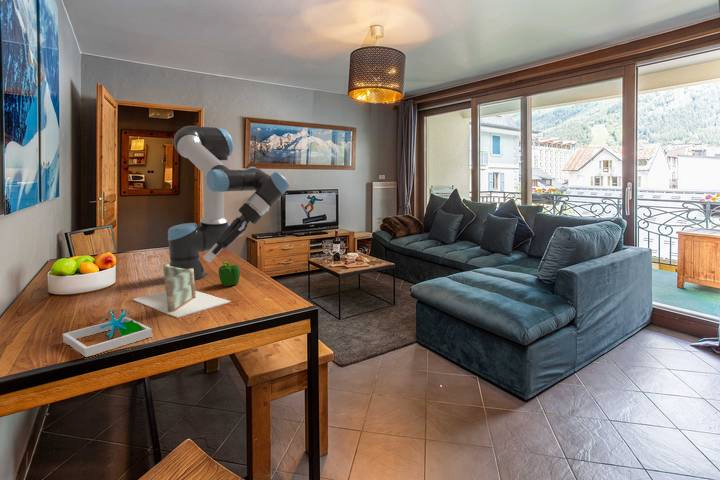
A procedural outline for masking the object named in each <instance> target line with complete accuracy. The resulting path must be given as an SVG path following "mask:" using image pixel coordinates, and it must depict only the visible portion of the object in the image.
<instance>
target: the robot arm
mask: <svg viewBox="0 0 720 480" xmlns="http://www.w3.org/2000/svg"><path fill="white" fill-rule="evenodd" d="M173 146H174V149H175V150H176V152H177V153H178V154H179V155H180V156H181V157H183V158H185V159H188V160H189V161H190V162H191V163H192V164H193V165H194V166H195V167H196V168H197V169H198V170H199V172H201V173H202V177H203V178H202V181H203V182H202V183H203V185H202V186H203V193H202V194H203V218H201V219H200V220H199V221H200V222H199V224H200V225H197V223H196V222H188V223H187V222H186V223H181V224H177V225H173V226H171V227H170V228H168V230H167V241H168V242H167V243H168V252H169V266H172V267H178V268H183V269H190V268H193V269H194V281H196V280H199V279H202V278H205V277H206V272H205V271H206V270H205V269H204V266H203V263H202V262H201V259H200V253H201V252H206V253H205V254H204V255H203V257H202V258H203V260H205V261H207V262H208V263H209V264H210V263H211V262H212V261H213V260H214V259H215V258H216V257H217V256H218V254H220V252H222V251H223V249H227V248H229V246H230V245H231V244H232V243H233V242H234V241H235V240H236V239H237V238H238V237H239V236H240V235H241V234H242V233H244V231H246V230H247V228H248V224H249V223H251V224H254V225H256V224H257V223H258V222H259V220H260V219H261V218H262V216H264V215H265V214H266V213H269V212H270V209H271V208H272V206H273V205H275V203H276V202H277V201H278V200H279V199H280V198H281V197H282V196H283V195H284V194H285V193H286V191H287V190H288V189H289V187H290V183H289V181H288V180H287V179H286V177H285V176H283V175H282V174H281V173H280V172H277V171H274V172H273V173H271V174H268V173H266V172H265V171H263V170H262V169H259V168H257V167H255V166H250V167H249V166H248V168H245V169H230V168H229V167H227V165H225V164H226V163H227V162H228V157H230V156H231V155H232V154H233V152H234V142H233V138H232V136H231V134H230V132H229V131H228V130H226V129H225V128H221V127H210V126H199V125H198V126H197V125H186V126H183V127H181V128H180V129H179V130H177V131H176V133H175V134H174V138H173ZM250 191H251V192H252V191H253V193H252V194H251V195H250V197H249V198H248V199H247V200H246V202H245V203H243V204H242V205H241V206H240V207H239V209H238V213H240V214H241V215H240V216H239V217H236V218H235V219H233V220H232V222H231V223H228V222H229V221H228V220H227V219H226V217H225V192H250Z"/></svg>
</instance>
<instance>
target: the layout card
mask: <svg viewBox="0 0 720 480" xmlns="http://www.w3.org/2000/svg"><path fill="white" fill-rule="evenodd" d="M195 294H196V298H191V299H189V300H188V301H186V302H185V303H183V304H182V305H180V306H179V307H177V308H176V309H175V310H173V311H168V306H167V294H166V290H164V291H161V292H157V293H152V294H148V295H144V296H140V297H135V298H132V301H134V302H137V303H139V304H142V305H144V306H146V307H149V308H151V309H155V310H157V311H158V312H160V313H161V312H162V313H164V314H167V315H169V316H172V317H174V318H176V319H180V318H182V317H185V316H190V315H194V314H196V313H199V312H203V311H206V310H209V309H213V308H217V307H220V306H222V305H226V304H227V305H228V304H230V303H231V300H228V299H225V298H222V297H217V296H214V295H212V294H208V293H204V292H202V291H199V290H195ZM179 317H180V318H179Z"/></svg>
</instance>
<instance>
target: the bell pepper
mask: <svg viewBox="0 0 720 480" xmlns="http://www.w3.org/2000/svg"><path fill="white" fill-rule="evenodd" d="M218 277H219V280H220V284H221V285H222V287H230V286H236V285H238V283H239V281H240V277H241V268H240V266H239V265H238V264H231V263H229V262H228V261H223V262H222V265H221V266H220V267H219V269H218Z"/></svg>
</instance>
